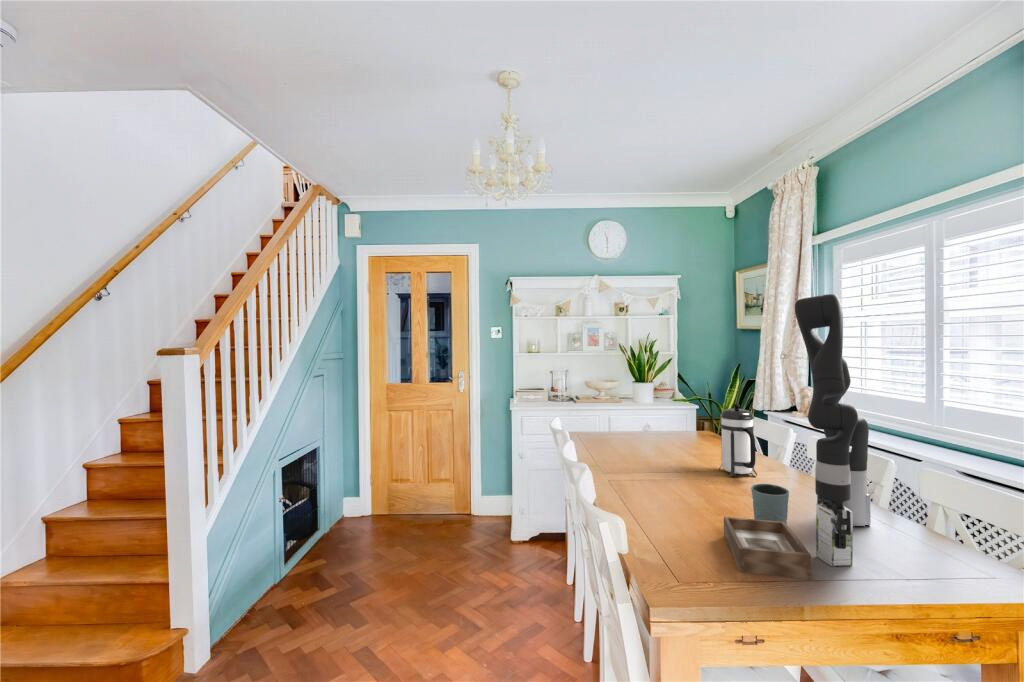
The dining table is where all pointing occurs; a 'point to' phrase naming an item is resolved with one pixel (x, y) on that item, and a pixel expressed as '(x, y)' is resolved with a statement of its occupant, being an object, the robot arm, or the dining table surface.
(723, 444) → the coffee press
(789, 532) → the brown wooden shallow tray
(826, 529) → the syrup box
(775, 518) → the blue-grey cup
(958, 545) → the dining table surface
